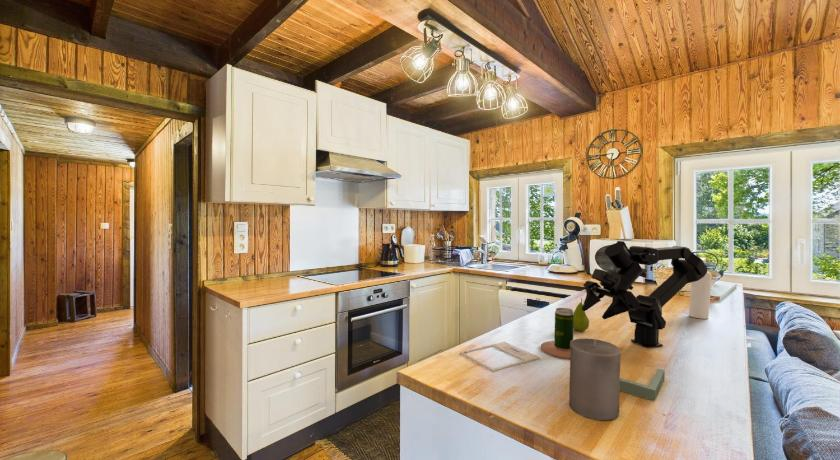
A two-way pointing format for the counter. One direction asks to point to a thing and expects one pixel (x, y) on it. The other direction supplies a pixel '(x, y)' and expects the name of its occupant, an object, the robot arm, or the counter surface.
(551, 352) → the saucer
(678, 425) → the counter surface
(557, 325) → the beer can
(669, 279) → the robot arm
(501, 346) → the photo frame
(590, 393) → the pillar candle
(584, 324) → the fruit
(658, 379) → the green u-shaped bracket
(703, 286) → the beige bottle
